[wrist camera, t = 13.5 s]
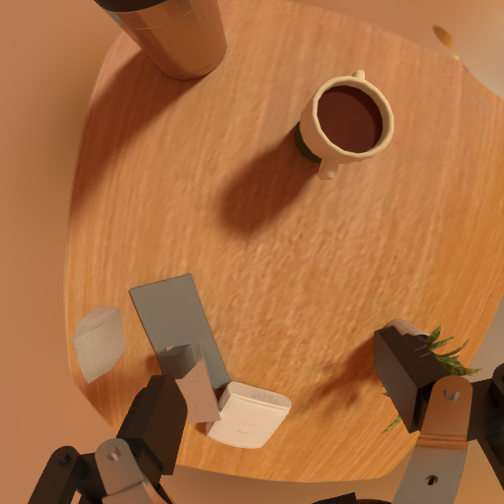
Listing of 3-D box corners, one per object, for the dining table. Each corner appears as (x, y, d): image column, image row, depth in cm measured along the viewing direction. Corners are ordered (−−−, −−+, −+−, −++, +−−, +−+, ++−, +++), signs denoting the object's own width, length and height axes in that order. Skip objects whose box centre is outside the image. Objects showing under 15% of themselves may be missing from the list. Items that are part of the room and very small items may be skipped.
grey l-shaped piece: (168, 346, 38) (148, 358, 31) (201, 341, 38) (186, 353, 31) (190, 420, 37) (175, 442, 30) (222, 418, 37) (212, 441, 30)
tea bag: (118, 307, 38) (85, 341, 28) (126, 347, 39) (99, 386, 29) (97, 305, 38) (62, 337, 28) (106, 345, 39) (76, 381, 30)
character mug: (332, 190, 34) (375, 196, 21) (277, 170, 33) (290, 162, 21) (358, 110, 31) (406, 80, 19) (304, 89, 31) (329, 44, 18)
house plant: (371, 392, 41) (406, 464, 25) (328, 343, 38) (362, 425, 23) (439, 338, 39) (494, 394, 23) (407, 279, 36) (478, 332, 20)
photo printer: (294, 413, 37) (258, 456, 39) (290, 394, 41) (256, 438, 44) (227, 395, 35) (199, 442, 38) (228, 376, 39) (201, 424, 42)
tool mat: (130, 288, 37) (129, 290, 36) (190, 273, 36) (189, 274, 36) (177, 391, 41) (176, 393, 40) (231, 383, 40) (231, 386, 40)
